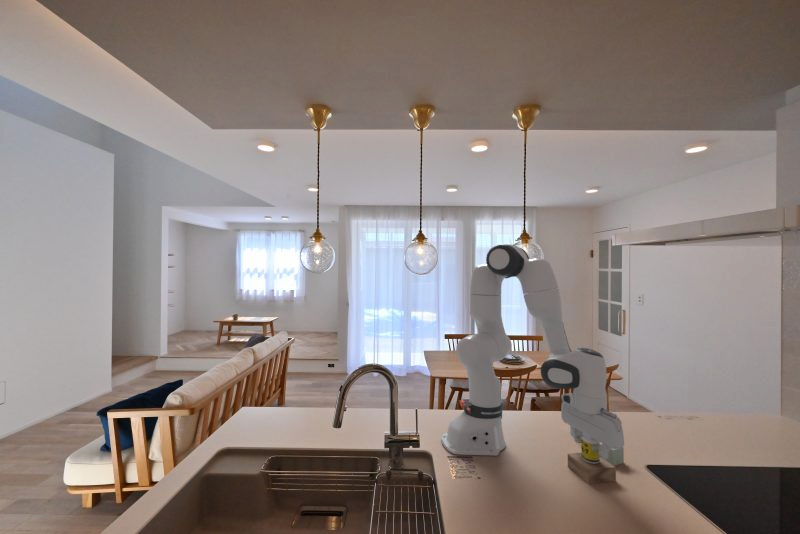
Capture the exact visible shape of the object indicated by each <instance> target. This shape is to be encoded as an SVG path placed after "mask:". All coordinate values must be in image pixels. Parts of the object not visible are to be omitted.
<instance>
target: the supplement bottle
mask: <svg viewBox="0 0 800 534" xmlns="http://www.w3.org/2000/svg"><path fill="white" fill-rule="evenodd" d="M581 441H582V443H581V453H582V459H583V460H584V461H586V462H588V463H592V464H596V463H599V461H600V456H599V443H600V442H599V441H598V440H596V439H594V438H592V437H590V436H589V435H588V434H587V433H586V432H584V431H583V436H582V439H581Z"/></svg>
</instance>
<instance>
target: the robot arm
mask: <svg viewBox="0 0 800 534" xmlns="http://www.w3.org/2000/svg"><path fill="white" fill-rule="evenodd" d="M485 258H486V259H485V261H486V262H485V263H482V264H478V265H477V266H475V267H474V268H473V270H472V274H471V280H470V287H469V316H470V318H471V319H472V320H474V323H475V326H476V329H477V333H474V334H469V335H467V336H465V337H463V338H462V339H460V340H459V341H458V343H457V345H456V348H455V353H456V357H457V359H458V361H459V362H460V363H461V364H462V365H463V366H464V367H465V370H466V373H467V379H468V399H469V400H468V399H467V402H465V400H463V399H462V400H460V401H459V405H460V406H461V408H463V411H462V412H461V413H460V414H459V415H457V416H456V417H454V418H453V419H452V420H451V421H449V424H448V427H447V432H444V433H442V434H441V437H440V441H441V443H442V446H444V448H445V449H446V451H448V452H449V453H451V454H453V455H461V456H463V455H464V456H466V455H467V456H468V455H469V456H495V457H496V456H499V455H500V453H501V451H503V450H504V449H505V448H506V445H507V444H506V441H505V436H504V431H503V426H502V424H503V423H502V419H503V404H502V400H501V399H502V397H501V396H502V395H501V394H502V391H501V389H502V388H501V387H502V384H501V381H500V379H499V378H498V376H496V373H495V370H494V363H496V362H499V361H502V360H503V359H505V358H506V357H507V356H508V355H509V354H510V353H511V352H512V345H513V344H512V340H511V339H510V337H509V336H508V335H507V333H506V330H505V328H504V323H503V317H502V285H503V284H502V283H503V281H504V279H509V278H510V279H511V278H512V277H513V278H516V279H518V281H519V283H520V285H521V289H522V294H523V299H524V304H525V306H526V307H527V311H528V313H529V314H530V316H532V317H533V318H535V319H536V320H537V321H538V322H539V323H540V324H541V325H542V327H543V329H544V334H545V337H546V340H547V345H548V348H549V355H548V356H549V357H548V358H547V359H546V360H545V361H544V362H543V364H542V365H541V367H540V375H541V378H542V380H543V382H544V383H545V384H547V386H548V387H551V388H552V389H557V390H558V389H559V390H561V389H562V390H566V389H567V390H573V392H569V393H563V394H561V395H560V396H561V397H560V399H561V401H562V402H561V408H560V410H561V414H560V415H561V419H562V421H563V422H564V423H565V424H567V425H568V426H569V427H570V426H571V430H572V432H573V435H574V436H573V435H572V436H573V439H574V440H573V441H574V442H575V443H577V444H582V441H581V439H582V437H581V436H580V433H579V431H581V432H583V431H584V432H586V433H587V434H588V435H589V436H590V437H592V438H594V439H596V440H598V441H599V443H600V442H601V443H602V446H603V447H604V448H603V450H599V453H600V454H599V456H600V457H602V458H604V459H607V458H608V452H609V451H610V450H611V448H612V449H619V448H622V447H624V446H625V437H624V429H623V425H622V420H621V419H620V418H619V417H618V415H617V414H616V413H614V412H611V411H609V410H608V394H607V391H606V385H607V381H608V380H607V377H608V376H607V365H606V360H605V358H604V356H603V355H602V354H601V353H600V352H598V351H596V350H594V349H591V348H586V347H577V348H576V349H574V350H572V349H571V348H570V345H569V341H568V337H567V333H566V330H565V327H564V323H563V312H562V300H561V294H560V289H559V286H558V285H559V284H558V281H557V278H556V276H555V273H554V271H553V268H552V266H551V263H550V262H549V261H548V260H546V259H544V258H539V257H538V258H537V257H535V258H530V257H529V255H528V253H527V252H526V250H524V248H521V247H519V246H517V245H514V244H509V243H508V244H507V243H500V244H496V245H494V246H493V247H491V248H490V249H489V251H488V252H487V254H486V257H485Z"/></svg>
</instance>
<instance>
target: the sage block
mask: <svg viewBox="0 0 800 534" xmlns="http://www.w3.org/2000/svg"><path fill="white" fill-rule="evenodd" d="M603 448H604V447H603V446H602V443H601V442H599V450H603ZM624 449H625V448H624V446H623V447H622V448H619V449H612V448H611V450H610V451H609V452H608V458H607V459H605V460H606V461H608V462H609V463H611V464H612V465H613V466H615V467H616V466H618V465H620V464H621V465H622V464H624V462H625V461H624V460H625V459H624V457H625V454H624V453H625V451H624ZM599 454H600V453H599ZM603 459H604V458H603Z"/></svg>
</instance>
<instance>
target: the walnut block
mask: <svg viewBox="0 0 800 534" xmlns="http://www.w3.org/2000/svg"><path fill="white" fill-rule="evenodd" d="M567 468H569V469H570V470H571V471H572V472H573V473H575V474H576V475H577V476H578V477H579V478H581V479H582V480H583V481H584V482H585V483H586V484H588V485H589V484H599V483H610V482H611V483H612V482H616V481H617V469H616V468H617V467H616V465H615V466H613V465H612V464H611V463H609V462H608V461H606V460H605V459H603V458H602V457H600V461H599V463H596V464H592V463H588V462H586V461H584V460H583V459H582V452H572V453H570V452H569V453H567Z"/></svg>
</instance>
